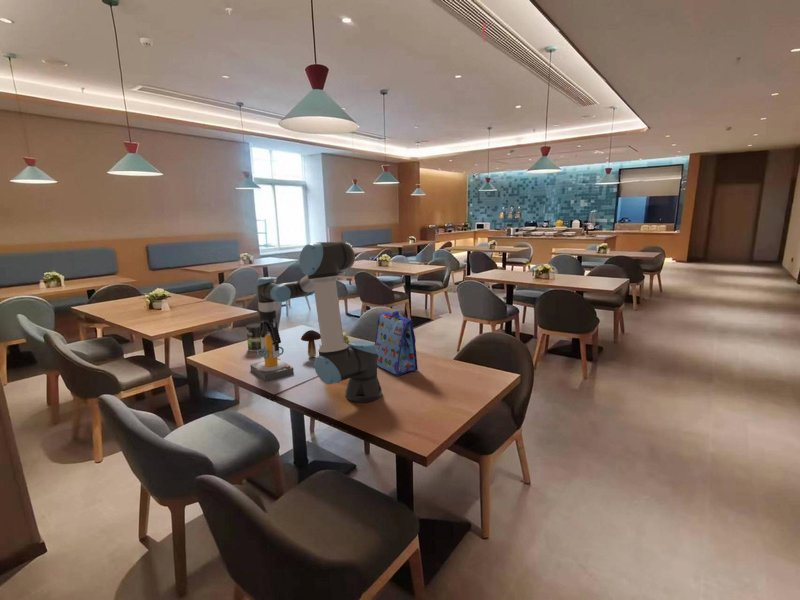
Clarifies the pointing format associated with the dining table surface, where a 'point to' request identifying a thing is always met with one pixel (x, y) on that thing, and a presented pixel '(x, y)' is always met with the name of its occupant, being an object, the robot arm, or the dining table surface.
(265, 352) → the yellow tube with rings
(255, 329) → the coffee can
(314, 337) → the decorative mushroom
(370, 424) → the dining table surface
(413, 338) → the lunch bag
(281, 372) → the mount slab
